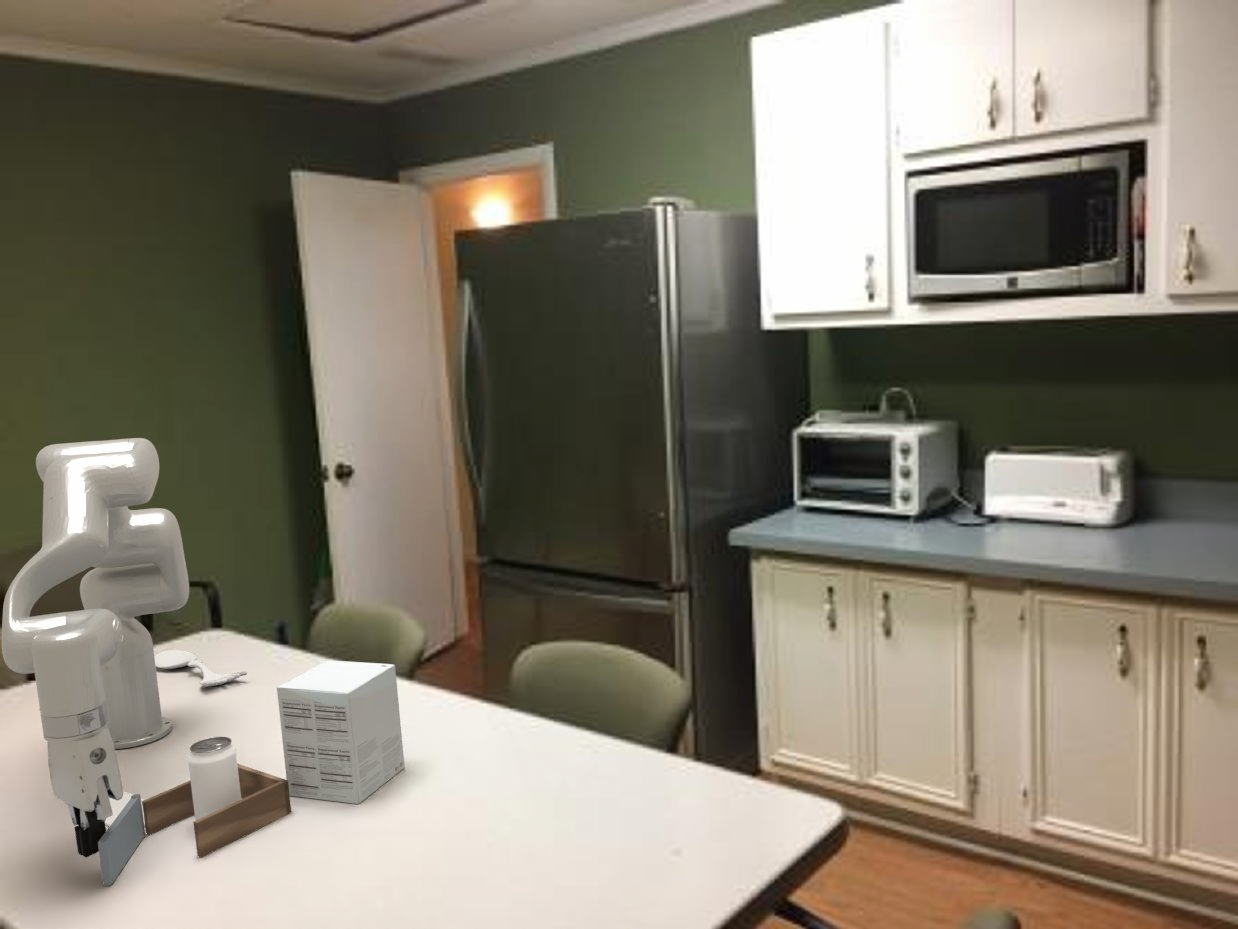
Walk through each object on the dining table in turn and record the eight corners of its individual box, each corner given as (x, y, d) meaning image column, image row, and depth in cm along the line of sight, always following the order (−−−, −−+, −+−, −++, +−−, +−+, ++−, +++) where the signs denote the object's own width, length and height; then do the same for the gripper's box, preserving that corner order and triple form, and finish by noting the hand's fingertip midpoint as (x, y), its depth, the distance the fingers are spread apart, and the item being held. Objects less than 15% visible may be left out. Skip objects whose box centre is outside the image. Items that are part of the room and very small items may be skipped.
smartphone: (123, 790, 162) (174, 812, 153) (124, 794, 162) (174, 817, 153) (76, 809, 156) (126, 833, 147) (77, 814, 156) (126, 838, 147)
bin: (146, 834, 147) (141, 801, 147) (236, 792, 159) (232, 762, 159) (200, 857, 140) (196, 823, 139) (291, 812, 151) (288, 780, 151)
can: (227, 834, 146) (218, 754, 144) (186, 832, 147) (177, 753, 146) (252, 812, 152) (243, 735, 151) (212, 811, 153) (203, 734, 152)
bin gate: (137, 835, 147) (132, 794, 146) (146, 834, 147) (141, 793, 146) (102, 886, 133) (96, 841, 132) (112, 885, 133) (106, 840, 133)
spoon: (207, 698, 204) (205, 681, 204) (144, 667, 227) (142, 652, 226) (250, 685, 211) (248, 668, 210) (185, 656, 233) (183, 642, 232)
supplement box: (337, 760, 169) (326, 658, 167) (406, 768, 165) (396, 663, 163) (285, 796, 157) (274, 687, 155) (359, 805, 153) (348, 692, 150)
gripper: (133, 720, 132) (150, 853, 135) (75, 700, 141) (92, 825, 144) (75, 742, 126) (94, 880, 129) (17, 719, 135) (36, 849, 138)
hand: (93, 851), depth 136 cm, fingers closed
